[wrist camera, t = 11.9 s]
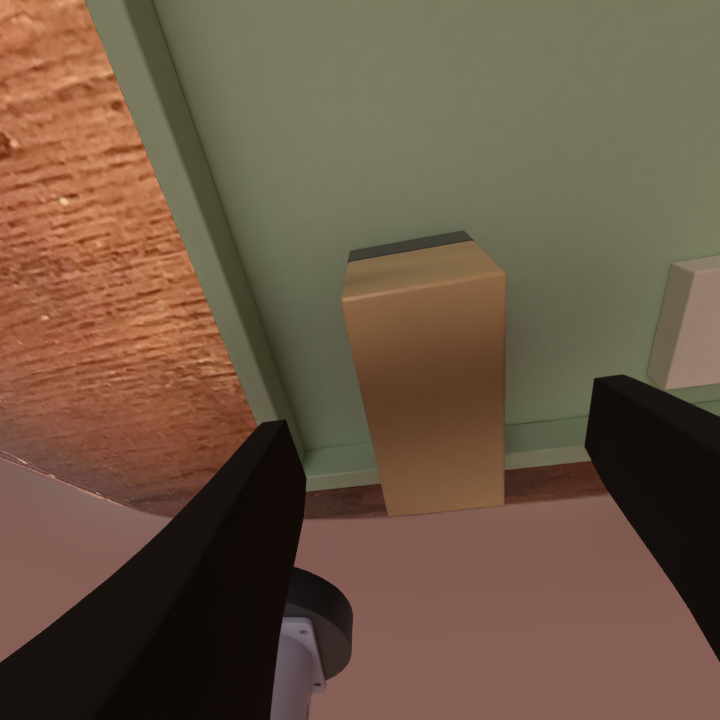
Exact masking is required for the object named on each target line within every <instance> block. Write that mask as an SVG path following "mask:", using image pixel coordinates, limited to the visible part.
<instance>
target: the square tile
mask: <svg viewBox="0 0 720 720" xmlns="http://www.w3.org/2000/svg"><path fill="white" fill-rule="evenodd" d="M647 375H648V376H649V377H650V378H651V379H653V380H654V381H655V382H656V383H657V384H659V385H660V386H661V387H662V388H663V389H665V390H670V389H678V388H686V387H694V386H702V385H709V384H717V383H720V255H716V256H710V257H704V258H698V259H692V260H685V261H679V262H673V263H672V264H671V268H670V273H669V277H668V281H667V286H666V290H665V295H664V299H663V304H662V308H661V312H660V317H659V321H658V326H657V330H656V335H655V339H654V343H653V348H652V352H651V357H650V361H649V366H648V370H647Z"/></svg>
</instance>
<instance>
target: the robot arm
mask: <svg viewBox="0 0 720 720" xmlns="http://www.w3.org/2000/svg"><path fill="white" fill-rule="evenodd" d="M584 447H585V449H586V451H587V453H588V455H589V457H590V459H591V461H592V463H593V465H594V467H595V469H596V471H597V473H598V474H599V476H600V478H601V480H602V482H603V484H604V486H605V487H606V489H607V490H608V492H609V493H610V495H611V496H612V498H613V499H614V501H615V502H616V503H617V505H618V506H619V508H620V509H621V511H622V512H623V514H624V515H625V516H626V518H627V519H628V521H629V522H630V524H631V525H632V526H633V528H634V529H635V531H636V532H637V534H638V535H639V536H640V538H641V539H642V541H643V542H644V543H645V545H646V547H647V548H648V549H649V551H650V552H651V554H652V555H653V557H654V558H655V559H656V561H657V562H658V564H659V565H660V567H661V568H662V569H663V571H664V572H665V574H666V575H667V576H668V578H669V579H670V581H671V582H672V583H673V585H674V586H675V588H676V590H677V591H678V593H679V594H680V596H681V597H682V599H683V600H684V602H685V603H686V605H687V607H688V608H689V609H690V611H691V613H692V615H693V616H694V618H695V620H696V622H697V624H698V625H699V627H700V629H701V630H702V632H703V634H704V636H705V637H706V639H707V641H708V643H709V644H710V646H711V648H712V650H713V651H714V653H715V655H716V656H717V658H718V660H719V662H720V416H717V415H715V414H713V413H711V412H708V411H706V410H704V409H702V408H700V407H697V406H695V405H693V404H691V403H689V402H686V401H684V400H682V399H680V398H677V397H675V396H673V395H671V394H669V393H666V392H664V391H662V390H660V389H657V388H655V387H653V386H651V385H648V384H646V383H644V382H641V381H639V380H637V379H634V378H632V377H629V376H626V375H624V374H621V375H613V376H606V377H598V378H594V382H593V389H592V396H591V403H590V410H589V417H588V424H587V431H586V438H585V445H584ZM306 481H307V478H306V475H305V472H304V469H303V466H302V464H301V461H300V458H299V455H298V452H297V449H296V447H295V444H294V441H293V438H292V435H291V432H290V430H289V427H288V424H287V421H286V419H284V420H276V421H269V422H262V423H261V424H260V425H259V426H258V427H257V428H256V429H255V431H254V432H253V433H252V434H251V435H250V436H249V437H248V438H247V439H246V441H245V442H244V443H243V444H242V445H241V446H240V447H239V449H238V450H237V451H236V452H235V453H234V454H233V455H232V457H231V458H230V459H229V460H228V461H227V462H226V463H225V464H224V465H223V467H222V468H221V469H220V470H219V471H218V472H217V473H216V474H215V475H214V477H213V478H212V479H211V480H210V481H209V482H208V483H207V484H206V485H205V487H204V488H203V489H202V490H201V491H200V492H199V493H198V494H197V495H196V496H195V497H194V498H193V499H192V500H191V501H190V502H189V503H188V504H187V505H186V506H185V507H184V508H183V509H182V510H181V511H180V512H179V513H178V514H177V515H176V516H175V517H174V518H173V519H172V520H171V522H170V523H169V524H168V525H167V526H166V527H165V528H163V530H162V531H160V532H159V533H158V534H157V535H156V536H155V537H154V538H153V539H152V540H151V541H150V542H149V543H148V544H147V545H145V546H144V547H143V548H142V549H141V550H140V551H139V552H138V553H137V554H136V555H134V556H133V557H132V558H131V559H130V560H129V561H128V562H126V563H125V564H124V565H123V566H122V567H121V568H120V569H119V570H117V571H116V572H115V573H114V574H113V575H112V576H110V577H109V578H108V579H107V580H106V581H105V582H103V583H102V584H101V585H100V586H98V587H97V588H96V589H95V590H93V591H92V592H91V593H90V594H88V595H87V596H86V597H85V598H83V599H82V600H81V601H80V602H79V603H77V604H76V605H75V606H74V607H72V608H71V609H70V610H69V611H67V612H66V613H65V614H64V615H62V616H61V617H60V618H59V619H57V620H56V621H55V622H54V623H52V624H51V625H50V626H49V627H47V628H46V629H45V630H43V631H42V632H41V633H40V634H38V635H37V636H35V637H34V638H33V639H32V640H30V641H29V642H27V643H26V644H25V645H23V646H22V647H21V648H20V649H18V650H17V651H16V652H14V653H13V654H11V655H10V656H9V657H7V658H6V659H5V660H3V661H2V662H0V720H309V712H310V702H311V694H312V693H318V694H320V693H324V692H325V691H326V685H327V684H326V680H325V676H324V671H323V667H322V662H321V658H320V653H319V649H318V645H317V640H316V636H315V631H314V627H313V622H312V620H311V619H310V618H308V617H283V614H284V610H285V605H286V600H287V595H288V590H289V586H290V581H291V576H292V571H293V567H294V562H295V557H296V552H297V548H298V543H299V538H300V533H301V528H302V523H303V518H304V507H305V495H306Z"/></svg>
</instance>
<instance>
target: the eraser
mask: <svg viewBox="0 0 720 720" xmlns="http://www.w3.org/2000/svg"><path fill="white" fill-rule="evenodd" d="M347 264H348V265H347V270H346V275H345V280H344V286H343V291H342V296H341V301H340V302H341V306H342V311H343V315H344V320H345V324H346V329H347V333H348V338H349V342H350V347H351V351H352V356H353V360H354V365H355V369H356V374H357V378H358V383H359V388H360V392H361V397H362V401H363V406H364V410H365V415H366V419H367V424H368V428H369V433H370V437H371V442H372V446H373V451H374V455H375V460H376V464H377V469H378V473H379V478H380V482H381V487H382V491H383V496H384V501H385V505H386V510H387V514H388V515H389V516H390V517H393V516H403V515H413V514H423V513H433V512H444V511H454V510H464V509H474V508H484V507H495V506H502V505H504V484H505V380H506V276H507V274H506V272H505V271H504V270H503V269H502V268H501V267H500V266H499V265H498V264H497V263H496V262H495V261H494V260H493V259H492V258H491V257H490V256H489V255H488V254H487V253H486V252H485V251H484V250H483V249H482V248H481V247H480V246H479V245H478V244H477V243H476V242H475V241H474V240H473V239H472V238H471V237H470V236H469V235H468V234H467V233H466V232H465V231H457V232H452V233H446V234H441V235H435V236H430V237H424V238H418V239H413V240H407V241H402V242H396V243H391V244H385V245H379V246H374V247H368V248H363V249H357V250H352V251H350V252H349V257H348V262H347Z"/></svg>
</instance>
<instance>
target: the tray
mask: <svg viewBox="0 0 720 720" xmlns="http://www.w3.org/2000/svg"><path fill="white" fill-rule="evenodd" d="M85 3H86V5H87V7H88V10H89V12H90V15H91V17H92V20H93V22H94V25H95V27H96V30H97V32H98V34H99V37H100V39H101V42H102V44H103V47H104V49H105V52H106V54H107V57H108V59H109V62H110V64H111V66H112V69H113V71H114V74H115V76H116V79H117V81H118V84H119V86H120V89H121V91H122V93H123V96H124V98H125V101H126V103H127V106H128V108H129V111H130V113H131V116H132V118H133V120H134V123H135V125H136V128H137V130H138V133H139V135H140V138H141V140H142V143H143V145H144V147H145V150H146V152H147V155H148V157H149V160H150V162H151V165H152V167H153V170H154V172H155V175H156V177H157V179H158V182H159V184H160V187H161V189H162V192H163V194H164V197H165V199H166V202H167V204H168V206H169V209H170V211H171V214H172V216H173V219H174V221H175V224H176V226H177V229H178V231H179V233H180V236H181V238H182V241H183V243H184V246H185V248H186V251H187V253H188V256H189V258H190V260H191V263H192V265H193V268H194V270H195V273H196V275H197V278H198V280H199V283H200V285H201V287H202V290H203V292H204V295H205V297H206V300H207V302H208V305H209V307H210V310H211V312H212V315H213V317H214V319H215V322H216V324H217V327H218V329H219V332H220V334H221V337H222V339H223V342H224V344H225V346H226V349H227V351H228V354H229V356H230V359H231V361H232V364H233V366H234V369H235V371H236V373H237V376H238V378H239V381H240V383H241V386H242V388H243V391H244V393H245V396H246V398H247V400H248V403H249V405H250V408H251V410H252V413H253V415H254V418H255V420H256V423H257V425H258V426H259V425H260V424H261V423H262V422H269V421H276V420H284V419H286V421H287V424H288V427H289V430H290V432H291V435H292V438H293V441H294V444H295V447H296V449H297V452H298V455H299V458H300V461H301V464H302V466H303V469H304V472H305V475H306V478H307V481H306V492H307V491H317V490H326V489H335V488H344V487H354V486H363V485H372V484H381V482H380V478H379V473H378V469H377V464H376V460H375V455H374V451H373V446H372V442H371V437H370V433H369V428H368V424H367V419H366V415H365V410H364V406H363V401H362V397H361V392H360V388H359V383H358V378H357V374H356V369H355V365H354V360H353V356H352V351H351V347H350V342H349V338H348V333H347V329H346V324H345V320H344V315H343V311H342V306H341V302H340V301H341V296H342V291H343V286H344V280H345V275H346V270H347V265H348V264H347V262H348V257H349V252H350V251H352V250H357V249H363V248H368V247H374V246H379V245H385V244H391V243H396V242H402V241H407V240H413V239H418V238H424V237H430V236H435V235H441V234H446V233H452V232H457V231H465V232H466V233H467V234H468V235H469V236H470V237H471V238H472V239H473V240H474V241H475V242H476V243H477V244H478V245H479V246H480V247H481V248H482V249H483V250H484V251H485V252H486V253H487V254H488V255H489V256H490V257H491V258H492V259H493V260H494V261H495V262H496V263H497V264H498V265H499V266H500V267H501V268H502V269H503V270H504V271H505V272H506V274H507V276H506V380H505V470H510V469H520V468H529V467H538V466H547V465H556V464H566V463H575V462H584V461H591V459H590V457H589V455H588V453H587V451H586V449H585V447H584V445H585V438H586V431H587V424H588V417H589V410H590V403H591V396H592V389H593V382H594V378H598V377H606V376H613V375H621V374H624V375H626V376H629V377H632V378H634V379H637V380H639V381H641V382H644V383H646V384H648V385H651V386H653V387H655V388H657V389H660V390H662V391H664V392H666V393H669V394H671V395H673V396H675V397H677V398H680V399H682V400H684V401H686V402H689V403H691V404H693V405H695V406H697V407H700V408H702V409H704V410H706V411H708V412H711V413H713V414H715V415H717V416H720V383H717V384H709V385H702V386H694V387H686V388H678V389H670V390H665V389H663V388H662V387H661V386H660V385H659V384H657V383H656V382H655V381H654V380H653V379H651V378H650V377H649V376H648V375H647V370H648V366H649V361H650V357H651V352H652V348H653V343H654V339H655V335H656V330H657V326H658V321H659V317H660V312H661V308H662V304H663V299H664V295H665V290H666V286H667V281H668V277H669V273H670V268H671V264H672V263H673V262H679V261H685V260H692V259H698V258H704V257H710V256H716V255H720V0H85Z"/></svg>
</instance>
